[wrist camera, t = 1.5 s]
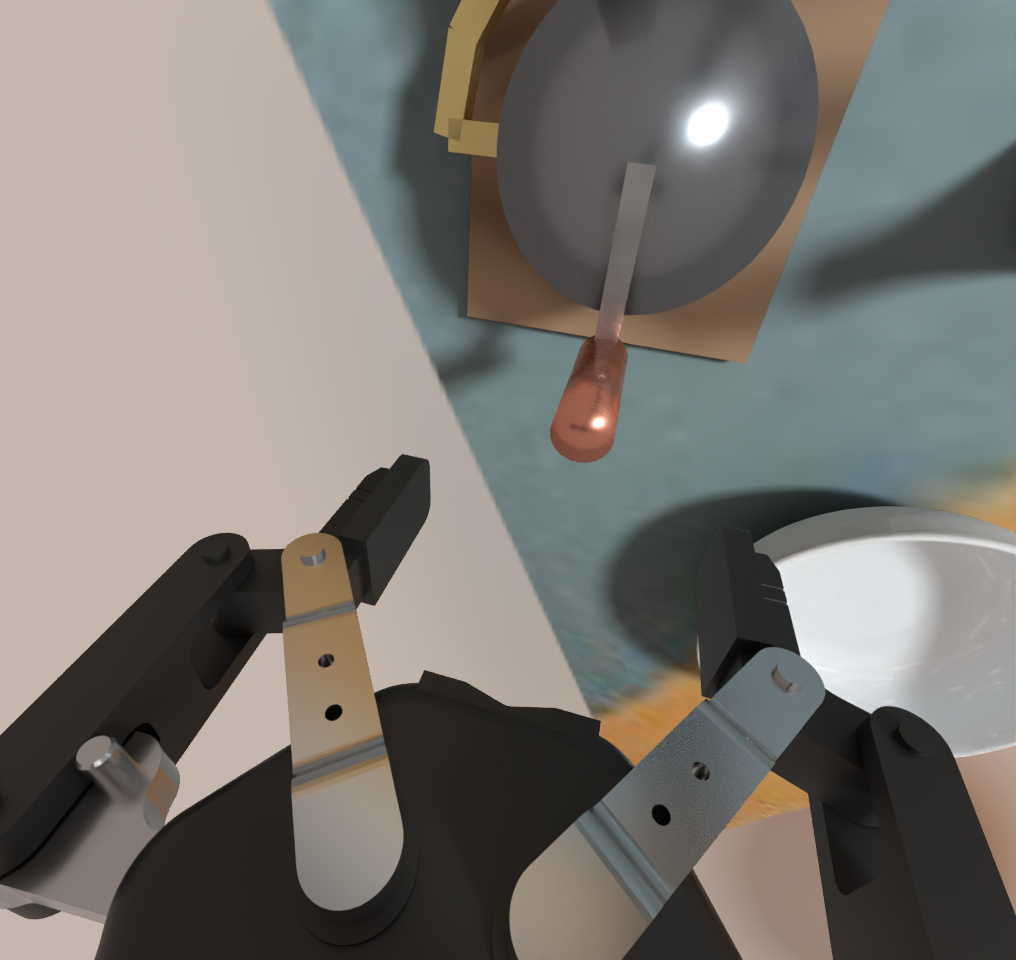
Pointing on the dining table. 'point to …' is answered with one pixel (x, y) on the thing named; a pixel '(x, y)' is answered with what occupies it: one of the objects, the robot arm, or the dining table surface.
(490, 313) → the board
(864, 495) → the dining table surface
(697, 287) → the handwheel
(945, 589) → the serving bowl
